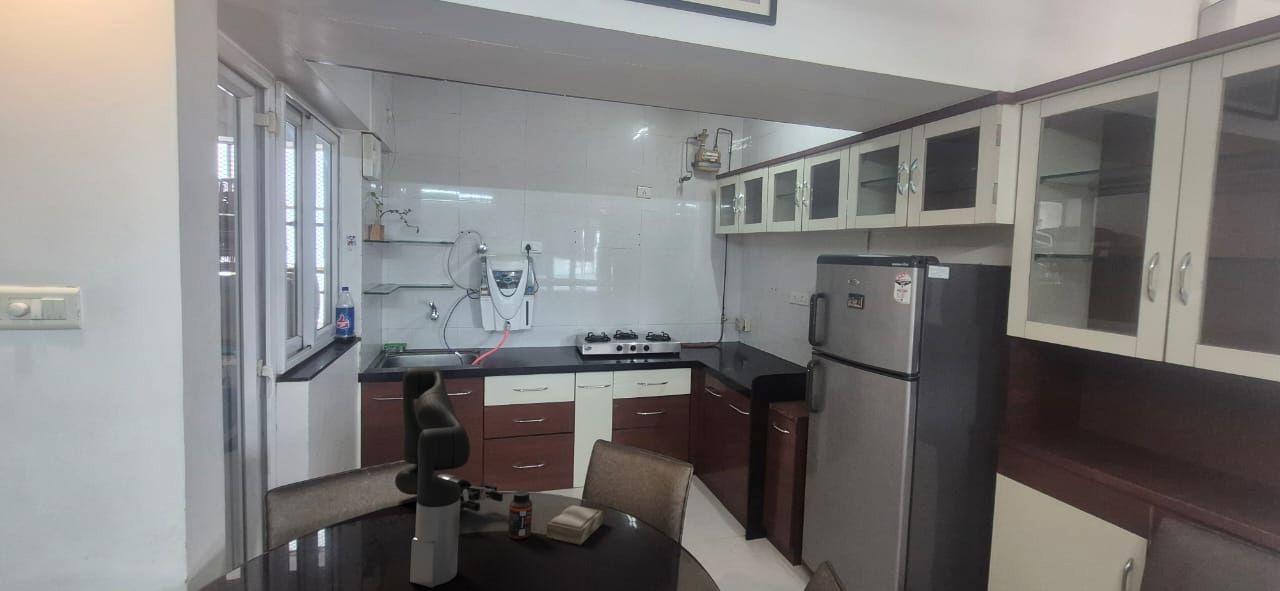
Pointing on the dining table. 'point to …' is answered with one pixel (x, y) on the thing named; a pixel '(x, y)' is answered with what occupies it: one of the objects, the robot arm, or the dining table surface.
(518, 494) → the supplement bottle
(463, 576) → the dining table surface
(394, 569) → the dining table surface
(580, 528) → the beige flat block
